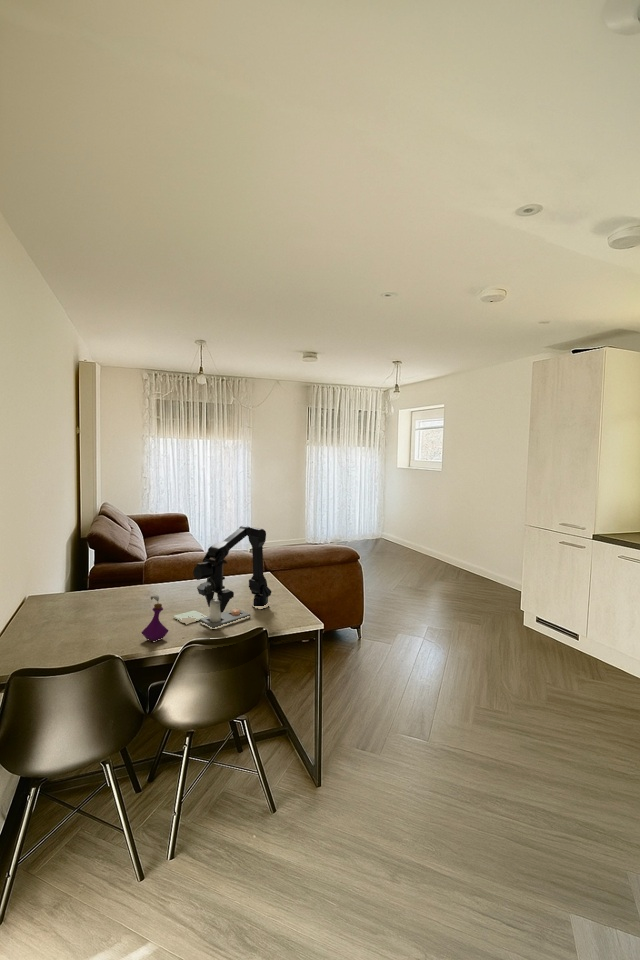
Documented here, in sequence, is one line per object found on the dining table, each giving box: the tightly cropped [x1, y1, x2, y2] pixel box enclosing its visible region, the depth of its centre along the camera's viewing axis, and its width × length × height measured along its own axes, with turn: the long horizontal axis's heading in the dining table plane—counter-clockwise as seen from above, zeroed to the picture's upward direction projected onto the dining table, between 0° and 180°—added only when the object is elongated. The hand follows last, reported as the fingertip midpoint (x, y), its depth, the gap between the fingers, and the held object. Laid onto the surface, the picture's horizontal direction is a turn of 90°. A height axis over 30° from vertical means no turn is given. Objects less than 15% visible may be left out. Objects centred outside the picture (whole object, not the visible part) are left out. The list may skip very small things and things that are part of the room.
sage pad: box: [172, 610, 208, 620], centre depth 203 cm, size 11×11×1 cm
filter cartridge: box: [209, 598, 221, 623], centre depth 198 cm, size 5×5×11 cm
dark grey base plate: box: [199, 608, 251, 628], centre depth 202 cm, size 20×10×2 cm, turn 137°
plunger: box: [230, 608, 241, 616], centre depth 206 cm, size 4×4×3 cm
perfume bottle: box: [141, 594, 169, 642], centre depth 180 cm, size 8×8×18 cm
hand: (215, 609), depth 198 cm, fingers open, 9 cm apart
